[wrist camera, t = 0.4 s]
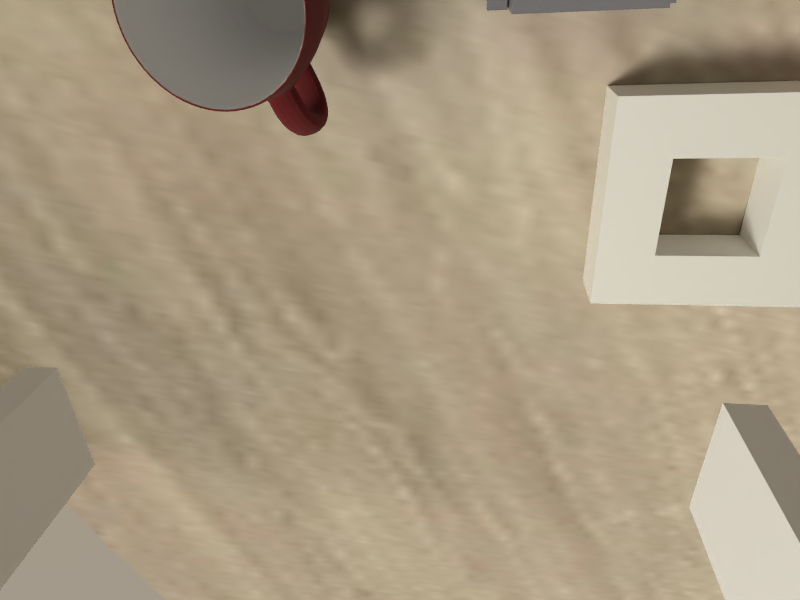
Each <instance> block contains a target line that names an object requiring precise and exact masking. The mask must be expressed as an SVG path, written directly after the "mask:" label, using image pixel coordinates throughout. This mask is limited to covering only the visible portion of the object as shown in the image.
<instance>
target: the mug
mask: <svg viewBox="0 0 800 600" xmlns="http://www.w3.org/2000/svg"><path fill="white" fill-rule="evenodd" d="M112 4H113V8H114V13H115V16H116V19H117V23H118V25H119V28H120V31H121V33H122V35H123V37H124V39H125V42H126V43H127V45H128V47H129V49H130V51H131V52H132V54H133V55H134V57H135V58H136V60H137V61H138V63H139V64H140V65H141V66H142V68H143V69H144V70H145V71H146V72H147V73H148V74H149V76H150V77H151V78H152V79H153V80H154V81H156V82H157V83H158V84H159V85H160V86H161V87H163V88H164V89H165V90H166V91H168V92H169V93H171V94H172V95H174V96H175V97H177V98H179V99H181V100H182V101H184V102H187V103H189V104H191V105H194V106H197V107H200V108H203V109H207V110H213V111H225V112H228V111H239V110H244V109H248V108H251V107H254V106H257V105H259V104H261V103H263V102H265V101H268V102H269V103H270V105H271V107H272V109H273V111H274V112H275V114H276V115H277V117H278V119H279V120H280V121H281V122H282V124H283V125H284V126H285V127H286V128H288V129H289V130H290V131H292V132H294V133H295V134H297V135H301V136H307V135H311V134H314V133H316V132H318V131H320V130H321V128H322V127H323V126H324V125H325V124H326V121H327V117H328V107H327V102H326V98H325V95H324V92H323V89H322V87H321V84H320V82H319V80H318V78H317V76H316V74H315V72H314V70H313V68H312V66H311V64H310V62H311V61H312V59H313V57H314V55H315V53H316V51H317V49H318V46H319V44H320V41H321V39H322V36H323V34H324V31H325V28H326V25H327V20H328V14H329V0H112ZM295 86H296V87H295Z"/></svg>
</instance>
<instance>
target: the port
mask: <svg viewBox="0 0 800 600" xmlns="http://www.w3.org/2000/svg"><path fill="white" fill-rule="evenodd" d="M685 158H759V162H758V166H757V169H756V173H755V177H754V181H753V185H752V188H751V192H750V196H749V200H748V204H747V208H746V211H745V215H744V219H743V223H742V227H741V231H740V234H739V235H659V232H660V226H661V221H662V216H663V210H664V205H665V200H666V194H667V189H668V184H669V178H670V173H671V168H672V163H673V159H685ZM583 282H584V285H585V288H586V291H587V294H588V297H589V300H590V303H605V304H659V305H713V306H767V307H800V81H768V82H729V83H690V84H650V85H611V86H607V89H606V97H605V105H604V113H603V121H602V129H601V138H600V146H599V154H598V162H597V170H596V178H595V186H594V194H593V202H592V210H591V218H590V226H589V235H588V243H587V251H586V259H585V267H584V275H583Z"/></svg>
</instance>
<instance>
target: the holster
mask: <svg viewBox="0 0 800 600" xmlns="http://www.w3.org/2000/svg"><path fill="white" fill-rule="evenodd" d="M670 3H676V0H508V9H509V10H510V12H511V13H512V14H526V13H550V12H575V11H600V10H624V9H649V8H670ZM487 10H507V0H487Z"/></svg>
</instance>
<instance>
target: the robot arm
mask: <svg viewBox="0 0 800 600" xmlns="http://www.w3.org/2000/svg"><path fill="white" fill-rule="evenodd" d="M94 465H95V462H94V460H93V457H92V455H91V452H90V450H89V447H88V445H87V442H86V440H85V437H84V435H83V432H82V430H81V427H80V425H79V422H78V420H77V417H76V415H75V412H74V409H73V407H72V404H71V402H70V399H69V397H68V394H67V392H66V389H65V387H64V384H63V382H62V379H61V377H60V374H59V372H58V369H57V368H44V367H25V366H23V367H22V368H21V369H20V370H19V371H17V372H16V373H15V374H14V375H13V376H12V377H11V378H10V379H9V380H7V381H6V382H5V383H4V384H3V385H2V386H1V387H0V590H1V588H2V587H3V585H4V584H5V583H6V581H7V580H8V579H9V577H10V576H11V575H12V573H13V572H14V571H15V570H16V568H17V567H18V566H19V564H20V563H21V562H22V560H23V559H24V558H25V556H26V555H27V553H28V552H29V551H30V549H31V548H32V547H33V546H34V544H35V543H36V542H37V540H38V539H39V538H40V537H41V535H42V534H43V533H44V531H45V530H46V529H47V527H48V526H49V525H50V523H51V522H52V520H53V519H54V518H55V516H56V515H57V514H58V513H59V511H60V510H61V509H62V507H63V506H64V505H65V503H66V502H67V501H68V499H69V498H70V497H71V495H72V494H73V493H74V491H75V490H76V489H77V487H78V486H79V485H80V484H81V482H82V481H83V480H84V478H85V477H86V476H87V474H88V473H89V472H90V470H91V469H92V468H93V466H94ZM689 507H690V509H691V512H692V515H693V517H694V520H695V522H696V525H697V528H698V530H699V533H700V535H701V538H702V541H703V543H704V546H705V548H706V551H707V554H708V556H709V559H710V562H711V564H712V567H713V569H714V572H715V575H716V577H717V580H718V582H719V585H720V588H721V590H722V593H723V595H724V598H725V600H800V455H799V453H798V452H797V450H796V449H795V447H794V446H793V444H792V443H791V441H790V439H789V438H788V436H787V435H786V433H785V432H784V430H783V429H782V427H781V425H780V424H779V422H778V421H777V419H776V418H775V416H774V415H773V413H772V412H771V410H770V408H769V407H768V405H750V404H731V403H723V405H722V408H721V411H720V414H719V417H718V420H717V423H716V426H715V429H714V432H713V435H712V439H711V442H710V445H709V448H708V451H707V454H706V457H705V460H704V463H703V466H702V469H701V472H700V476H699V479H698V482H697V485H696V488H695V491H694V494H693V497H692V500H691V503H690V506H689Z"/></svg>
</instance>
